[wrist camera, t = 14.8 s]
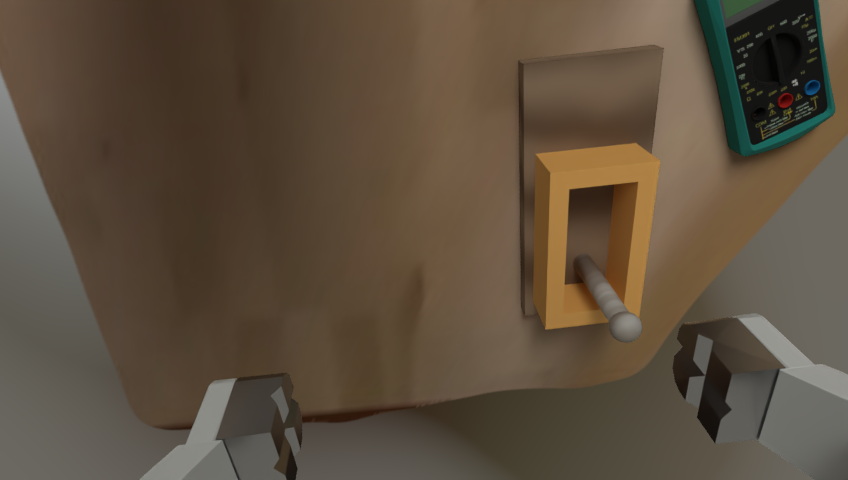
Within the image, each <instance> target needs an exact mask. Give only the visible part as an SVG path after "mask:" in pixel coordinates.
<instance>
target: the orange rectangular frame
mask: <svg viewBox="0 0 848 480" xmlns="http://www.w3.org/2000/svg"><path fill="white" fill-rule="evenodd" d="M659 167H660V160H658V159H657V158H656V157H654V156H653V155H652V154H650V153H649V152H648V151H646V150H645V149H643V148H642V147H641V146H639V145H638V144H637V143H631V144H622V145H613V146H604V147H595V148H585V149H576V150H567V151H558V152H548V153H539V154H536V156H535V216H534V277H533V303H534V305H535V307H536V309H537V312H538V314H539V316H540V318H541V321H542V323H543V325H544V327H545V330H547V329H555V328H564V327H572V326H581V325H590V324H598V323H607V322H608V320H607V318H606V317H605V315H604V314H603V312H602V310H601V309H600V307H599V306H598V304H597V302H596V301H595V299H594V298H593V296H592V294H591V293H590V291H589V290H588V288H587V286H586V285H585V283H577V284H568V285H565V265H566V245H567V225H568V205H569V189H576V188H585V187H594V186H603V185H612V184H614V193H613V204H612V214H611V225H610V235H609V246H608V257H607V267H606V280H607V281H608V282H609V284H610V285H611V287H612V288H613V290H614V291H615V293H616V294H617V295H618V297H619V298H620V300H621V301H622V303H623V304H624V305H625V307H626V308H627V310H628V311H629V312H631V313H633V314H635V315H636V316H637V317H638V318H639V314H640V306H641V299H642V292H643V284H644V277H645V270H646V262H647V255H648V248H649V240H650V233H651V226H652V218H653V211H654V204H655V196H656V189H657V182H658V175H659Z"/></svg>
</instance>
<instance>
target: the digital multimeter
mask: <svg viewBox="0 0 848 480" xmlns="http://www.w3.org/2000/svg"><path fill="white" fill-rule="evenodd" d="M694 1H695V4H696V7H697V11H698V14H699V18H700V21H701V24H702V28H703V31H704V34H705V38H706V41H707V45H708V49H709V53H710V57H711V61H712V65H713V69H714V72H715V76H716V80H717V85H718V90H719V95H720V100H721V105H722V110H723V115H724V121H725V127H726V133H727V139H728V145H729V147H730V149H732V150H733V151H735V152H737V153H739V154H740V155H742V156H745V157H746V156H750V155H754V154H758V153H762V152H766V151H769V150H772V149H775V148H778V147H781V146H783V145H785V144H788V143H790V142H792V141H794V140H796V139H798V138H800V137H801V136H803V135H805V134H806V133H808V132H809V131H811V130H813V129H814V128H816V127H817V126H818V125H820V124H821V123H823V122H824V121H826V120H827V119H828V118H830V117H831V116H833V114H834V113H835V104H834V99H833V94H832V89H831V84H830V79H829V73H828V67H827V61H826V55H825V49H824V43H823V37H822V28H821V19H820V11H819V2H818V0H694ZM726 32H727V33H726ZM727 37H728V38H727ZM728 41H729V43H728ZM729 46H730V47H729ZM730 51H731V52H730ZM731 55H732V57H731ZM803 56H804V57H803ZM732 60H733V61H732ZM733 64H734V66H733ZM734 69H735V70H734ZM735 74H736V75H735ZM736 78H737V80H736ZM754 80H755V81H754ZM737 83H738V84H737ZM766 86H767V87H766ZM738 87H739V89H738ZM739 92H740V93H739ZM740 97H741V98H740ZM741 101H742V103H741ZM744 115H745V116H744ZM745 120H746V121H745ZM746 124H747V125H746ZM747 129H748V130H747ZM748 133H749V134H748ZM749 138H750V139H749Z"/></svg>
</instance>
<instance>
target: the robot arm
mask: <svg viewBox="0 0 848 480" xmlns="http://www.w3.org/2000/svg"><path fill="white" fill-rule="evenodd" d="M677 340H678V341H679V342H680V344H681V345H682V346H683V347H682V348H681V349H680V350H679V351H678V352H677V353H676V354H675V356H674V362H673V373H674V379H675V383H676V385H677V387H678V390H679V392H680V393H681V395H682V396H683V398H684V399H685V401H687V402H689V403H690V404H692V405H694V406H696V407H698V408H699V409H698V415H697V418H698V420H699V421H700V423H701V424H702V426H703V427H704V428H705V430H706V431H707V433H708V434H709V436H710V437H711V439H712V440H713V441H714V443H715V444H718V443H728V442H738V441H747V440H758V439H759V441H758V442H760V443H761V444H763V445H764V446H766V447H767V448H769V449H770V450H772V451H773V452H774V453H776V454H777V455H779V456H780V457H782V458H784V459H785V460H786V461H788V462H789V463H791V464H792V465H794V466H795V467H797V468H798V469H800V470H801V471H803V472H804V473H806V474H807V475H809V476H810V477H812V478H813V479H815V480H848V374H845V373H843V372H840V371H838V370H836V369H833V368H831V367H828V366H826V365H823V364H819V365H814V364H813V363H812V362H811V361H810V360H809V359H808V358H807V357H806V356H805V355H803V354H802V353H801V352H800V351H799V350H798V349H797V348H796V347H795V346H794V345H793V344H792V343H791V342H790V341H788V340H787V339H786V338H785V337H784V336H783V335H782V334H781V333H780V332H779V331H778V330H777V329H776V328H775V327H774V326H772V325H771V324H770V323H769V322H768V321H767V320H766V319H765V318H764V317H763V316H761V315H759V314H756V313H753V314H746V315H740V316H732V317H730V318H721V319H713V320H706V321H698V322H691V323H683V324H682V325H681V327H680V328H679V331H678V337H677ZM292 393H293V384H292V381H291V378H290V375H289V374H287V373H279V374H269V375H259V376H249V377H239V378H234V379H224V380H214V381H213V382H212V383H211V384H210V385H209V387H208V389H207V392H206V394H205V397H204V399H203V402H202V404H201V407H200V409H199V412H198V414H197V417H196V419H195V422H194V424H193V427H192V429H191V432H190V434H189V437H188V439H187V442H186V444H185V445H178V446H177V447H176V448H174V449H173V450H172V451H171V452H170V453H169V454H168V455H167V456H165V457H164V458H163V459H162V460H161V461H160V462H159V463H158V464H156V465H155V466H154V467H153V468H152V469H151V470H149V471H148V472H147V473H146V474H145V475H144V476H143V477H142V478H140V479H139V480H296V475H297V465H296V462H295V459H294V456H295V455H296V454H297V453H298V452H299V451H300V450H301V442H302V418H301V411H300V408H299V404H298V402H296V401H295V400H293V399H292Z"/></svg>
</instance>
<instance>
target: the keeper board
mask: <svg viewBox="0 0 848 480" xmlns="http://www.w3.org/2000/svg"><path fill="white" fill-rule="evenodd" d="M663 50H664V48H662V47H659V46H656V45H648V46H640V47H631V48H622V49H614V50H605V51H597V52H588V53H579V54H571V55H562V56H553V57H545V58H536V59H527V60H519V145H520V240H521V307H522V309H523V312H524V314H525V316H528V315H536V314H538V312H537V309H536V307H535V305H534V303H533V277H534V216H535V156H536V154H539V153H548V152H558V151H567V150H576V149H585V148H595V147H604V146H613V145H622V144H631V143H637V144H638V145H639V146H641V147H642V148H643V149H645V150H646V151H648V152H649V153H650V154H652V145H653V136H654V128H655V119H656V110H657V102H658V93H659V84H660V76H661V67H662V58H663ZM613 193H614V184H612V185H603V186H594V187H585V188H576V189H569V205H568V225H567V245H566V265H565V285H568V284H577V283H585V285H586V286H587V288H588V290H589V291H590V293H591V294H592V296H593V298H594V299H595V301H596V302H597V304H598V306H599V307H600V309H601V310H602V312H603V314H604V315H605V317H606V318H607V320H608V322H609V330H610V333H611V335H612V336H613V337H614V338H615V339H616V340H618V341H620V342H625V343H628V342H632V341H635V340H636V339H637V338H638V337H639V336H640V334H641V332H642V324H641V321H640V319H639V318H638V317H637V316H636V315H635V314H633V313H631V312H629V311H628V310H627V308H626V307H625V305H624V304H623V303H622V301H621V300H620V298H619V297H618V295H617V294H616V293H615V291H614V290H613V288H612V287H611V285H610V284H609V282H608V281H607V280H606V267H607V257H608V246H609V235H610V225H611V214H612V204H613Z"/></svg>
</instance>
